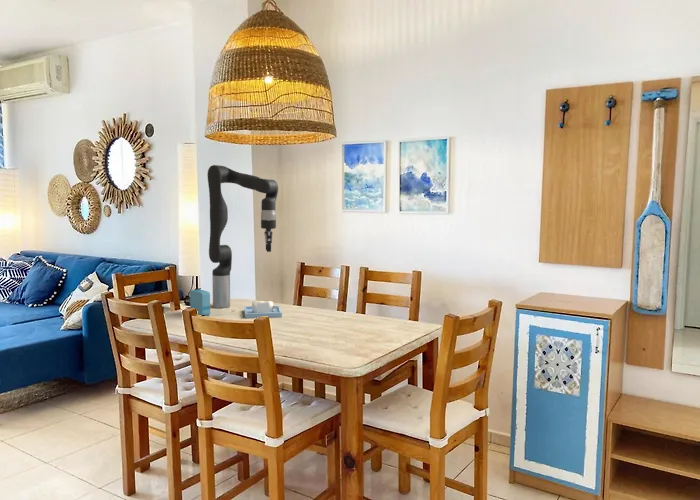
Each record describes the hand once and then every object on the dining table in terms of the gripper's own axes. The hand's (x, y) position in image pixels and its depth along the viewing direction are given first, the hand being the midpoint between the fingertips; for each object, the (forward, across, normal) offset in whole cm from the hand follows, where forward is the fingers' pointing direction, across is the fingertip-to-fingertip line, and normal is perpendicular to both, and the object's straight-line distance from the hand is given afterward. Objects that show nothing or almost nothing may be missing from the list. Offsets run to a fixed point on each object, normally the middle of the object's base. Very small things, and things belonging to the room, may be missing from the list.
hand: (268, 250), depth 277 cm
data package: (+32, 0, -34) cm, 47 cm away
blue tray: (+32, +3, -3) cm, 32 cm away
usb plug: (+31, +3, -2) cm, 31 cm away
